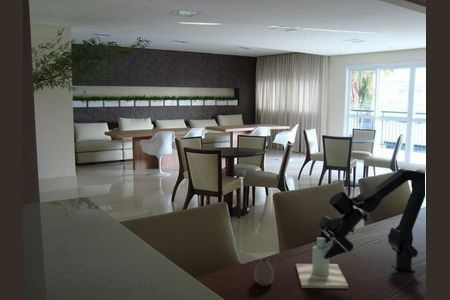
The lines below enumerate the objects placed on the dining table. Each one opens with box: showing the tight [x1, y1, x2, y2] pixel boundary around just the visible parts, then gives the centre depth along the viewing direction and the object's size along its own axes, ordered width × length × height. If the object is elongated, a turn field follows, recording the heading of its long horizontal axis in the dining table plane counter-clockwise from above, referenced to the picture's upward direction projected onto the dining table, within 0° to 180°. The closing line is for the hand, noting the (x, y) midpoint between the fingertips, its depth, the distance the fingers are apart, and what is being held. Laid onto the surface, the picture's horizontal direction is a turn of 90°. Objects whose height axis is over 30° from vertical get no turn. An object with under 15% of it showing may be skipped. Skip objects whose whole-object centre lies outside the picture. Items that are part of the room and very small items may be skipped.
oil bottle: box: [312, 236, 330, 277], centre depth 148 cm, size 6×6×14 cm
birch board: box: [295, 263, 349, 289], centre depth 149 cm, size 18×16×1 cm
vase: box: [254, 258, 275, 287], centre depth 144 cm, size 7×7×9 cm
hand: (319, 253), depth 148 cm, fingers open, 9 cm apart
